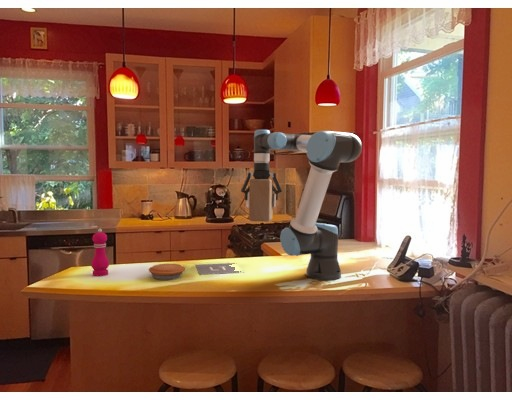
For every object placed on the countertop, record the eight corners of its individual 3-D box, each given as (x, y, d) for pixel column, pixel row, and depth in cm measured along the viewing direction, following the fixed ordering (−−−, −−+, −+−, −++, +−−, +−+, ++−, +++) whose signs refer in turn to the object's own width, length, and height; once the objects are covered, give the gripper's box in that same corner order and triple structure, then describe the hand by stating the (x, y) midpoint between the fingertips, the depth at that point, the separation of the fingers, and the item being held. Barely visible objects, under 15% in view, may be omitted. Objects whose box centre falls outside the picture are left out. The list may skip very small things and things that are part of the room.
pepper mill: (92, 277, 179) (91, 230, 178) (90, 273, 185) (89, 228, 184) (110, 275, 182) (109, 229, 181) (107, 272, 189) (107, 227, 187)
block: (269, 221, 200) (270, 179, 198) (248, 221, 202) (249, 178, 200) (272, 219, 209) (273, 179, 208) (252, 218, 211) (253, 178, 210)
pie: (146, 274, 186) (146, 263, 186) (181, 271, 192) (181, 260, 191) (151, 283, 172) (151, 270, 171) (189, 279, 177) (189, 268, 177)
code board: (244, 272, 191) (244, 272, 191) (199, 274, 186) (199, 274, 186) (235, 263, 210) (235, 263, 210) (195, 264, 205) (195, 264, 205)
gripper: (283, 163, 210) (283, 206, 212) (235, 162, 204) (234, 206, 206) (288, 162, 203) (287, 207, 204) (238, 161, 197) (237, 208, 198)
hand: (261, 207), depth 205 cm, fingers closed on block, 12 cm apart
